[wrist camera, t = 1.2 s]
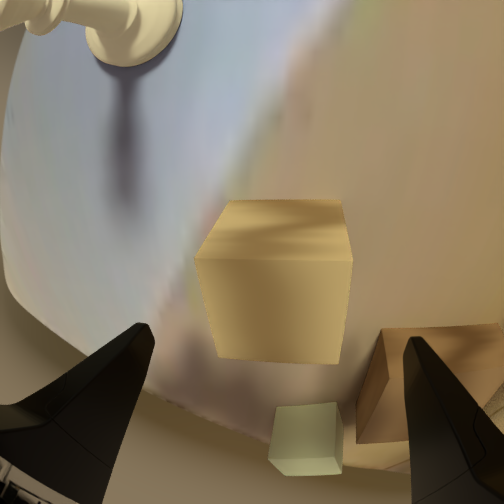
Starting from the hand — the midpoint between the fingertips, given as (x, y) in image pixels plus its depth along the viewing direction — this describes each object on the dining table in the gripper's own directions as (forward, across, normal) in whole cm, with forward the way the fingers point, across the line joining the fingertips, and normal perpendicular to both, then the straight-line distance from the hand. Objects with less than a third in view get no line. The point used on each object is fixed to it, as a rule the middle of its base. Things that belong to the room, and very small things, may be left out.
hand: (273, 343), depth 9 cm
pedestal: (+6, -10, +10) cm, 16 cm away
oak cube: (+6, 0, 0) cm, 6 cm away
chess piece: (+6, +6, -12) cm, 15 cm away
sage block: (+6, -2, +17) cm, 18 cm away
